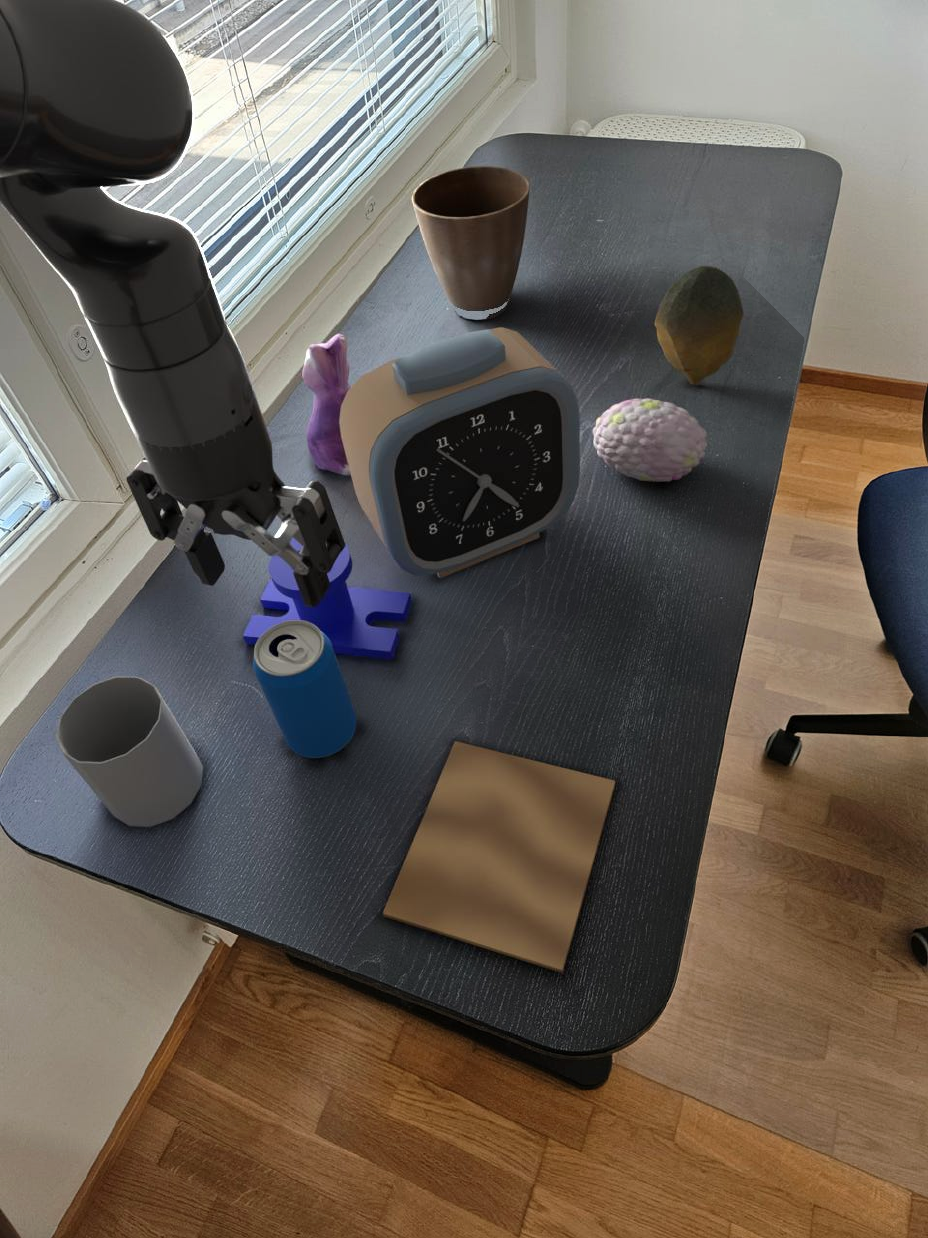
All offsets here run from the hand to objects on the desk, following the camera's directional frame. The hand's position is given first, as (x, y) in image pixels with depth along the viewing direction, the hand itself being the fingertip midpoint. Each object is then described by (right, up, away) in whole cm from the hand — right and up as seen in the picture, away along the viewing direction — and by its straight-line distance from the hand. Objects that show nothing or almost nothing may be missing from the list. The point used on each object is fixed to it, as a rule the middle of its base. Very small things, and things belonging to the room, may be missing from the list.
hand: (265, 587), depth 65 cm
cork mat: (+18, -20, +5) cm, 27 cm away
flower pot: (+17, +41, +59) cm, 74 cm away
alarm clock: (+16, +6, +29) cm, 33 cm away
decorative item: (+35, +14, +33) cm, 50 cm away
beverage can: (+2, -12, +14) cm, 19 cm away
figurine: (0, +17, +41) cm, 44 cm away
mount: (+1, -3, +23) cm, 23 cm away
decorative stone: (+42, +26, +42) cm, 65 cm away
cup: (-12, -17, +12) cm, 24 cm away
